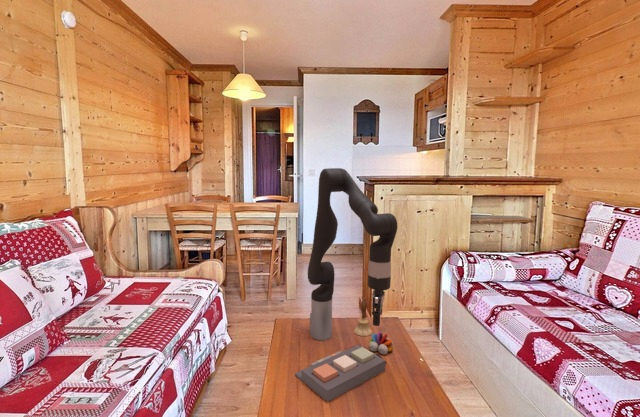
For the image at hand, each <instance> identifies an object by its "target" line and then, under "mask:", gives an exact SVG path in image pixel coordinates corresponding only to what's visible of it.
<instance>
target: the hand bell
mask: <svg viewBox="0 0 640 417" xmlns="http://www.w3.org/2000/svg"><path fill="white" fill-rule="evenodd" d="M360 305H361V307H360V308H361V318H359V319H358V323H357V324H356V328H354V330H353V333H354V334H355V335H357V336H360V337H369V336H372V334H373V330H372V329H371V328H370V325H369V320H368V319H367V318H366V317H367V316H366V311H367V309H368V302H367V298H366V297H363V298H362V301H361V304H360Z"/></svg>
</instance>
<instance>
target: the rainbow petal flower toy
mask: <svg viewBox="0 0 640 417" xmlns="http://www.w3.org/2000/svg"><path fill="white" fill-rule="evenodd" d="M368 343H369V344H368V348H369V351H370V352H377V351H378V353H380V354H381V355H387V354H388V352H391V351H392V350H393V346H394V343H393V340H392V339H391V338H388V334H387V333H385V334H383V333H382V331H378V332H377V334H376V333H372V334H371V339H370V340H369V342H368Z"/></svg>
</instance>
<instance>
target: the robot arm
mask: <svg viewBox="0 0 640 417" xmlns="http://www.w3.org/2000/svg"><path fill="white" fill-rule="evenodd" d="M336 192H337V193H338V192H339V193H340V192H343V193H344V194H346V195H347V196H348V204H349V208H350V209H351V211H353V213H355V215H356V216H357V217H358V218H359V219H360V221H361V223H362V226H363V228H364V230H365V232H366V233H367V234H369V235H370V236H373V237H378V236H379V237H378V239H376V240H375V241H373V242H372V243H370V245H369V254H368V255H369V256H368V263H367V264H368V265H367V288H369V289H371V290H372V294H371V299H372V300H371V308H372V311H371V315H372V326H376V327H379V326H380V325H381V315H383V306H384V301H385V294H386V291H387V290H389V289H390V288H391V282H392V281H391V279H392V278H391V277H392V276H391V275H392V262H391V260H392V248H393V245H394V241H395V239H396V235H397V231H398V221H397V217H396V216H395V215H394V214H393V213H388V212H387V213H379V209H378V206H377V205H376V204H375V203H374V202H373V201H372V200H371V199H370V198H369V197H368V196H366V194H365V193H364V192H363V191H362V190H361V188H360V187H359V186H358V184H357V182H355V180H354V179H353V177H352V176H351V175H350V173H349V172H348V171H347V170H346V169H344V168H338V167H337V168H336V167H335V168H331V167H330V168H323V169H322V170H321V171H320V174H319V178H318V191H317V194H318V196H317V208H316V209H317V210H316V218H315V223H314V230H313V241H312V247H311V248H312V249H311V254H310V259H309V263H308V267H307V279H308V282H309V284H310V285H313V286H315V285H319V286H317V288H315V289H313V290H312V291H311V297H310V298H311V299H310V300H311V304H310V305H311V307H310V308H311V310H310V314H309V334H310V337H311V338H313V339H314V340H317V341H327V340H329V339H331V338H332V337H333V295H334V291H335V290H334V289H335V287H334V286H335V275H336V274H335V267H334V265H333V263H332V262H330V261H323V257H324V256H325V254H326V253H327V251H328V250H329V249H330V247H332V245H333V243H335V240H336V238H337V232H338V227H339V226H338V225H339V224H338V219H337V217H336V214H335V212H334V211H333V208H332V206H331V195H332V193H336Z"/></svg>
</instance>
